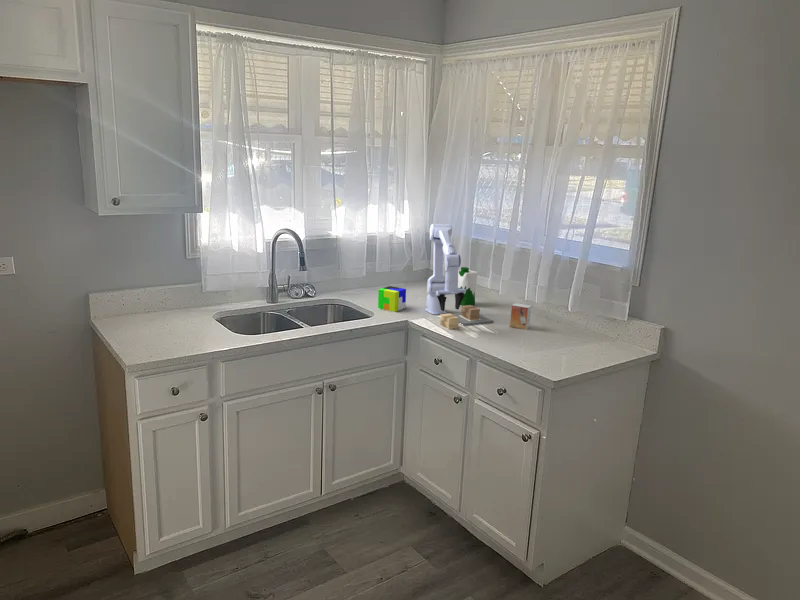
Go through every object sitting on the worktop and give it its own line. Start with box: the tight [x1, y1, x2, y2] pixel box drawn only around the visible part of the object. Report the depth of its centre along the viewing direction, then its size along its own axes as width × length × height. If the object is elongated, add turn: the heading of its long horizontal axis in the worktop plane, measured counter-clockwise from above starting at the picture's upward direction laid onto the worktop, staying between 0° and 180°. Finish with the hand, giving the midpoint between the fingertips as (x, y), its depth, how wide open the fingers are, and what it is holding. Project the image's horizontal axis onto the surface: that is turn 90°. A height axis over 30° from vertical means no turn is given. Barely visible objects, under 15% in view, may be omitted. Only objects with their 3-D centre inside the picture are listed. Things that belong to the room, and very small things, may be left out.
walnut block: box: [460, 305, 481, 320], centre depth 292 cm, size 8×5×5 cm, turn 26°
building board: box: [451, 313, 494, 326], centre depth 293 cm, size 16×16×1 cm
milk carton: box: [457, 266, 479, 307], centre depth 318 cm, size 9×9×20 cm
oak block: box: [439, 313, 460, 330], centre depth 280 cm, size 8×5×5 cm, turn 26°
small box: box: [509, 302, 532, 331], centre depth 283 cm, size 8×6×10 cm
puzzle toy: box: [377, 285, 407, 313], centre depth 307 cm, size 10×10×10 cm
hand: (449, 309), depth 279 cm, fingers open, 7 cm apart
